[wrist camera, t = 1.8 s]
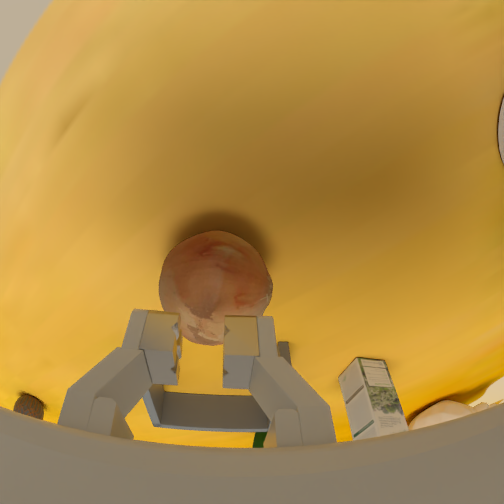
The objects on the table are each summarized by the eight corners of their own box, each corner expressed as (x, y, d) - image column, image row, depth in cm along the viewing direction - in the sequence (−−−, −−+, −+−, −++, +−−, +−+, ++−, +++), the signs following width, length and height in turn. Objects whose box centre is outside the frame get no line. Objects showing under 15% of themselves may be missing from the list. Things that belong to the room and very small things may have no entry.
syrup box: (336, 377, 46) (355, 462, 35) (356, 355, 43) (382, 445, 31) (365, 379, 48) (387, 458, 36) (386, 358, 45) (414, 441, 33)
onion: (275, 282, 34) (286, 359, 26) (185, 298, 35) (175, 374, 27) (256, 201, 29) (265, 272, 21) (153, 225, 30) (125, 298, 22)
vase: (44, 398, 51) (33, 433, 44) (48, 411, 54) (39, 444, 47) (16, 386, 49) (4, 420, 42) (22, 400, 53) (12, 432, 46)
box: (287, 341, 40) (293, 381, 35) (271, 399, 49) (274, 431, 44) (142, 335, 39) (134, 374, 34) (157, 394, 47) (153, 426, 43)
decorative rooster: (397, 434, 67) (419, 517, 46) (396, 413, 58) (424, 514, 38) (482, 396, 62) (512, 473, 41) (494, 368, 53) (534, 458, 33)
